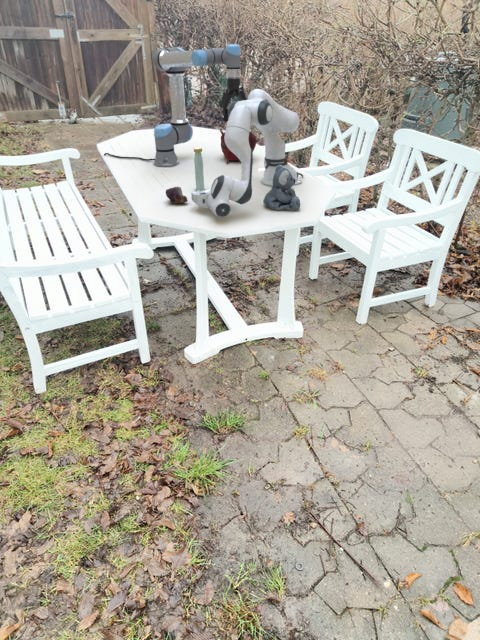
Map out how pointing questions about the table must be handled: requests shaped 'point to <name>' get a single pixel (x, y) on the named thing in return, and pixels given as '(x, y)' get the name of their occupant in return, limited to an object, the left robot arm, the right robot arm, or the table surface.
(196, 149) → the cap
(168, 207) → the table surface
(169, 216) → the table surface
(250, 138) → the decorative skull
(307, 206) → the table surface
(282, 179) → the koala plush
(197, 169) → the bottle
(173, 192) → the rock
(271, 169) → the right robot arm
